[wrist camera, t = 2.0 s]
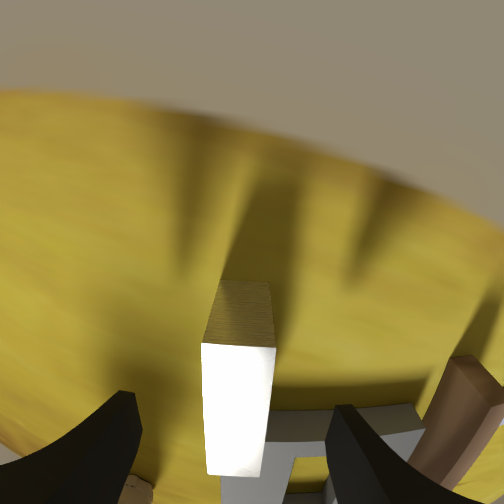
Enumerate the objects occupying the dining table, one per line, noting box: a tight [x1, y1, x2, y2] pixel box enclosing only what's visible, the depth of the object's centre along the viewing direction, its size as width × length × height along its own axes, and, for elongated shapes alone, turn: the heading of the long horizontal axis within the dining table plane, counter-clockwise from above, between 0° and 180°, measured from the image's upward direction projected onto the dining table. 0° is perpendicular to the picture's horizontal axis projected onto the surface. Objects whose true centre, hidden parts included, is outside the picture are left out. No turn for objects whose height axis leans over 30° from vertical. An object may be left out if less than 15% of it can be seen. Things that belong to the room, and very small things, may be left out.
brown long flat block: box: [407, 355, 504, 491], centre depth 16 cm, size 2×18×5 cm, turn 177°
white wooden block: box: [202, 280, 276, 477], centre depth 13 cm, size 2×7×6 cm, turn 176°
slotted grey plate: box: [221, 403, 426, 504], centre depth 17 cm, size 12×11×2 cm
